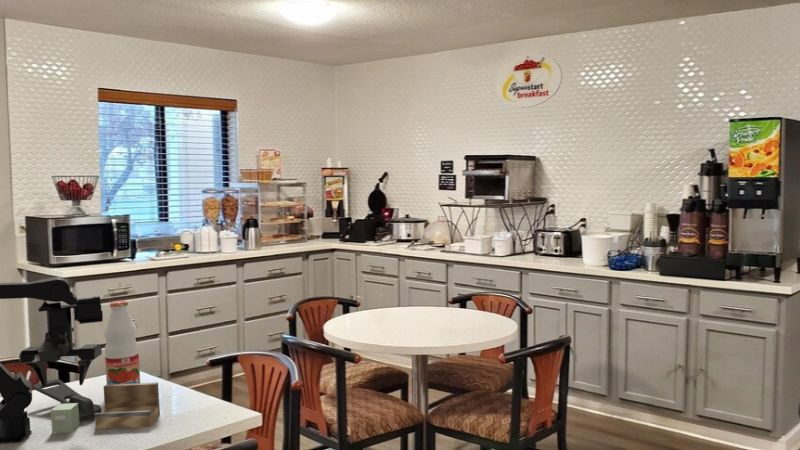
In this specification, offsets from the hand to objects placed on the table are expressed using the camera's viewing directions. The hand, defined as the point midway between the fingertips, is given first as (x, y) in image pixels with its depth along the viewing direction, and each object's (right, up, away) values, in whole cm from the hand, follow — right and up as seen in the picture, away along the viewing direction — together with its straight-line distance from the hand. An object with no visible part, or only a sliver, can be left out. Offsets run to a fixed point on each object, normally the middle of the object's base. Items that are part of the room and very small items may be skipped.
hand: (63, 385), depth 184 cm
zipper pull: (-6, -11, +15) cm, 19 cm away
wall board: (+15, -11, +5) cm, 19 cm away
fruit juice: (+4, -9, +29) cm, 31 cm away
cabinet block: (0, -12, +1) cm, 12 cm away
